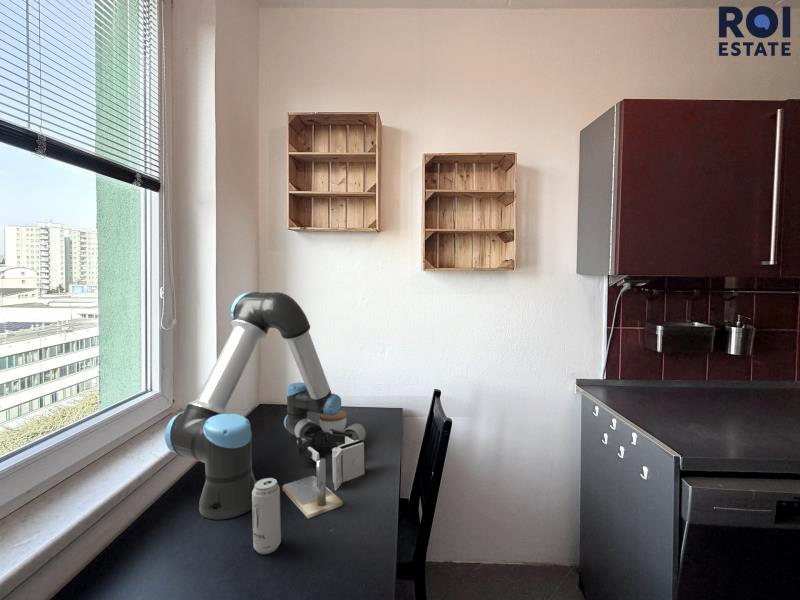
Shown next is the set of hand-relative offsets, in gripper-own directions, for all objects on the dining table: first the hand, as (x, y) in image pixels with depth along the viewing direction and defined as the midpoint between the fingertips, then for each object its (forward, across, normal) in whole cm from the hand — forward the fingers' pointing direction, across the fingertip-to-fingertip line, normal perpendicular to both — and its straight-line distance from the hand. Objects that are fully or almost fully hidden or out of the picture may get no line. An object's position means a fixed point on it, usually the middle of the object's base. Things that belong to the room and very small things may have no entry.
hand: (337, 452), depth 129 cm
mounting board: (+10, +14, -6) cm, 18 cm away
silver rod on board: (+9, +14, -5) cm, 17 cm away
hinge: (+7, +1, -6) cm, 10 cm away
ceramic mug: (-14, -13, -6) cm, 20 cm away
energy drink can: (+23, +31, -6) cm, 39 cm away
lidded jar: (-29, -14, -6) cm, 32 cm away
